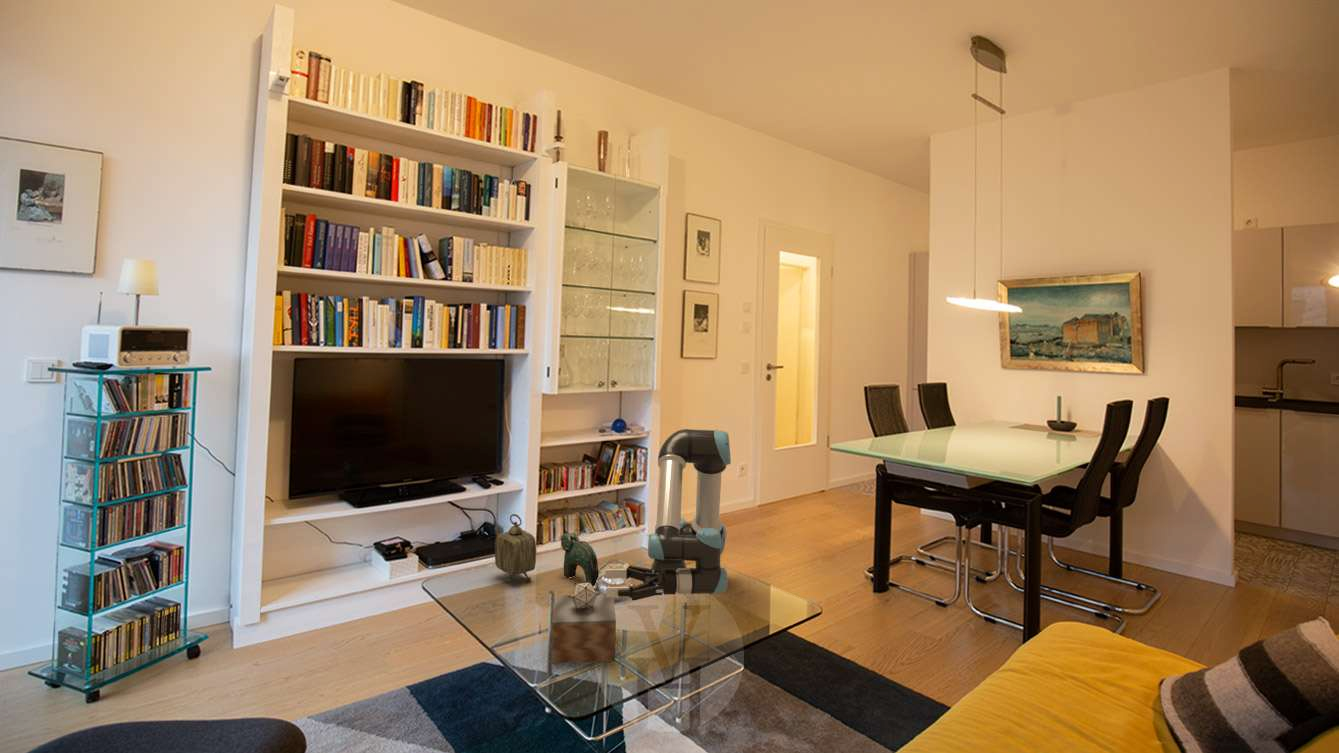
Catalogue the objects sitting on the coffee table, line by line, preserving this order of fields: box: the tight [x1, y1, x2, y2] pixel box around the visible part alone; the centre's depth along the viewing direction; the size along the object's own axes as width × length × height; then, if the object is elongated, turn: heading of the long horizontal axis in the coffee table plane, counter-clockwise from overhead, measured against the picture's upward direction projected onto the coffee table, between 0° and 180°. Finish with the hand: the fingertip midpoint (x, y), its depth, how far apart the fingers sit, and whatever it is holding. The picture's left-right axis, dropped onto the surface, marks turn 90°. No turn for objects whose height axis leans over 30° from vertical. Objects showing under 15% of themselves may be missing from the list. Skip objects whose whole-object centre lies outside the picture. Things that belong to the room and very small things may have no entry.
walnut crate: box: [551, 593, 617, 664], centre depth 192 cm, size 18×18×12 cm
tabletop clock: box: [494, 513, 537, 583], centre depth 239 cm, size 14×9×25 cm, turn 48°
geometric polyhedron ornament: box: [568, 580, 600, 611], centre depth 191 cm, size 9×8×10 cm
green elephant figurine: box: [560, 528, 600, 586], centre depth 239 cm, size 20×6×20 cm, turn 42°
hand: (605, 582), depth 192 cm, fingers open, 13 cm apart
